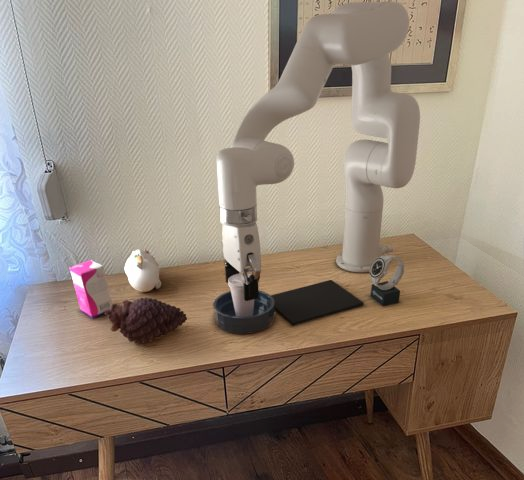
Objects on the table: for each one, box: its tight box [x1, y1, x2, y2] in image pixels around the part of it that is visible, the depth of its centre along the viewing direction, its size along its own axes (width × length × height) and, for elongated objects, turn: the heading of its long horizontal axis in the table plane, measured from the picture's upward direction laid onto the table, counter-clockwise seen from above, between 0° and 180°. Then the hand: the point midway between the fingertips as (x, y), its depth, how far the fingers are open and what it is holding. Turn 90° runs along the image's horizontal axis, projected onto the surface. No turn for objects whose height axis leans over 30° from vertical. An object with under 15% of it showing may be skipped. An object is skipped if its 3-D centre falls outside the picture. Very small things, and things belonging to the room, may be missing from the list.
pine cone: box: [104, 296, 188, 345], centre depth 112 cm, size 18×10×10 cm
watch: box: [368, 253, 405, 307], centre depth 122 cm, size 6×8×11 cm
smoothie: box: [227, 267, 254, 317], centre depth 115 cm, size 6×6×14 cm
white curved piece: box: [124, 248, 162, 293], centre depth 133 cm, size 10×8×15 cm
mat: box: [270, 279, 364, 327], centre depth 125 cm, size 19×14×1 cm
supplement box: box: [69, 259, 113, 319], centre depth 122 cm, size 6×6×12 cm
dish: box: [212, 290, 276, 335], centre depth 118 cm, size 14×14×4 cm
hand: (241, 290), depth 115 cm, fingers open, 9 cm apart
